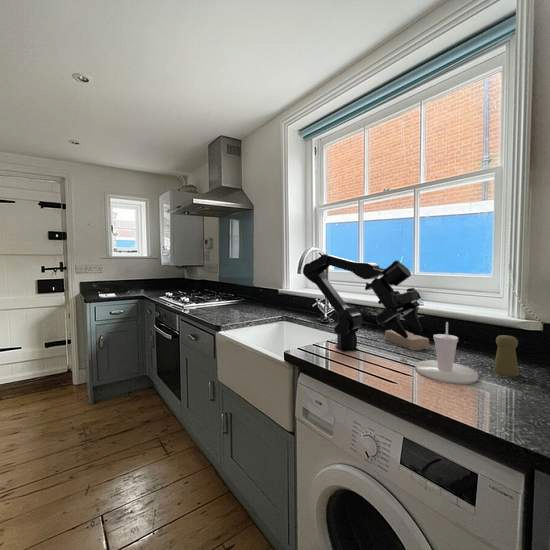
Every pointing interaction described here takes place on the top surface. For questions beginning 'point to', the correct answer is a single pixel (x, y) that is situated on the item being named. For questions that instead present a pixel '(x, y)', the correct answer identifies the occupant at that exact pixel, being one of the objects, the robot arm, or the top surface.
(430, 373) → the plate
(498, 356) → the cork
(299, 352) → the top surface
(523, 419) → the top surface
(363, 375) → the top surface
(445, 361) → the smoothie
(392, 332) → the brick
